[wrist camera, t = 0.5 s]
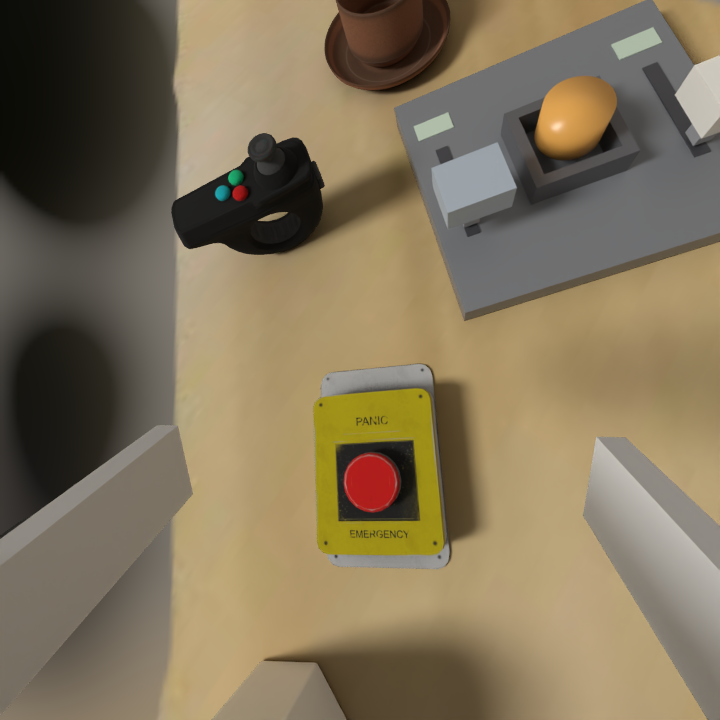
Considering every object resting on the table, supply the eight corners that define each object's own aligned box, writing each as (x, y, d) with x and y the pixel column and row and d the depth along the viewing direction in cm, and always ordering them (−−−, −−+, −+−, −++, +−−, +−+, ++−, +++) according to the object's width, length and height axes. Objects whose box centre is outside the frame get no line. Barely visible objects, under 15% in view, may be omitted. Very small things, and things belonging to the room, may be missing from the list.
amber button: (612, 145, 25) (628, 116, 23) (547, 169, 26) (556, 144, 24) (587, 97, 26) (600, 65, 24) (525, 121, 27) (532, 93, 25)
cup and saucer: (353, 0, 39) (336, -77, 33) (466, 2, 35) (469, -84, 30) (314, 97, 38) (288, 35, 32) (427, 109, 34) (422, 41, 28)
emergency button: (308, 585, 24) (303, 365, 28) (329, 563, 29) (322, 374, 32) (451, 591, 22) (428, 352, 26) (451, 566, 27) (431, 363, 30)
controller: (347, 232, 33) (305, 151, 24) (230, 285, 35) (148, 229, 26) (333, 194, 35) (288, 103, 25) (220, 247, 36) (138, 181, 27)
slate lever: (506, 228, 27) (517, 187, 23) (448, 248, 28) (447, 213, 24) (490, 188, 28) (497, 142, 24) (434, 209, 29) (431, 167, 25)
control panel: (762, 227, 26) (817, 191, 22) (464, 320, 29) (466, 303, 25) (638, 25, 31) (665, -33, 27) (397, 126, 34) (390, 87, 30)
